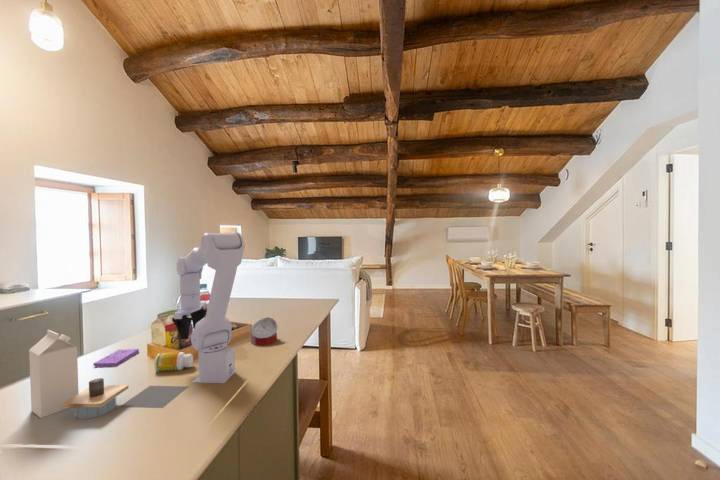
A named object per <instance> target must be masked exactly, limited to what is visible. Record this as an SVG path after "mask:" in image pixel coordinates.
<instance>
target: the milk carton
mask: <svg viewBox="0 0 720 480" xmlns="http://www.w3.org/2000/svg"><path fill="white" fill-rule="evenodd" d="M46 332H47V333H46V335H44V337H42V338H41V339H39V341H38V342H37V343H35V344H34V345H33V346H31V348H30V349H29V350H28V355H29V358H28V359H29V378H30V379H29V380H30V385H29V386H30V406H31V408H30V409H31V410H30V411H31V412H33V414H35V415H36V416H37V417H38V418H40V419H43V418H44V417H47V416H49V415H52V414H56V413H58V412H60V411H64V410H66V409H70V408H71V407H61V404H62V403H64V402H65V401H67V400H69V399H70V398H72V397H74V396H76V395H77V394H79V393H80V392H79V370H78V369H79V367H78V365H79V363H78V347H77V346H76V345H74V344H73V343H71V342H69V341H70V340H71V337H70V336H68V335H66V334H63V333H61V334H60V335H59V333H57V332H55V331H53V330H50V329H47V330H46Z"/></svg>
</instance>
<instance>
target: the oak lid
mask: <svg viewBox="0 0 720 480" xmlns="http://www.w3.org/2000/svg"><path fill="white" fill-rule="evenodd" d="M127 390H129V385H128V384H127V385H125V384H117V385H116V384H114V385H112V384H109V385H108V384H105V381H104V378H102V377H100V378H94V379H91V380H89V381H88V387H87V388H86V389H85V390H82V391H81V392H78V393H79V394H77V395H76V396H74V397H72V398H70V399H69V400H67V401H65V402H64V403H62V404H61V407H70V408H75V407H102V406H103V405H105V404H106V403H108V402H109V401H111V400H112V399H113V398H115V397H116V398H117V397H118V396H119V395H121V394H122V393H124V392H125V391H127Z"/></svg>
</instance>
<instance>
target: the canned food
mask: <svg viewBox="0 0 720 480" xmlns="http://www.w3.org/2000/svg"><path fill="white" fill-rule="evenodd" d="M250 329H251V331H250V333H251V334H250V344H252V345H254V346H267V345H268V346H269V345H272V344H274V343H276V342H277V341H278V338H277V337H278V333H277V331H278V325H277V321H276V320H275V319H274V318H272V317H270V316H269V317H264V318H261V319H259V320H258V321H256V322H255V323H254V324H253V325H252V327H251V328H250Z"/></svg>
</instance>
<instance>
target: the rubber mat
mask: <svg viewBox="0 0 720 480" xmlns="http://www.w3.org/2000/svg"><path fill="white" fill-rule="evenodd" d="M188 388H189V386H187V385H186V386H183V385H181V386H180V385H148V387H146V388H144V389H143V390H141V391H140V392H139V393H137V394H136V395H134V396H132V397H131V398H130V399H128V400H127V401H126V402H124V403H122V404H121V405H120V406H119V408H151V409H152V408H153V409H154V408H156V409H164V407H166V406H167V405H168V404H169V403H170V402H172V401H173V400H174V399H176V398H177V397H178V396H179V395H180V394H181V393H183V392H184V391H185V390H186V389H188Z"/></svg>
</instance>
